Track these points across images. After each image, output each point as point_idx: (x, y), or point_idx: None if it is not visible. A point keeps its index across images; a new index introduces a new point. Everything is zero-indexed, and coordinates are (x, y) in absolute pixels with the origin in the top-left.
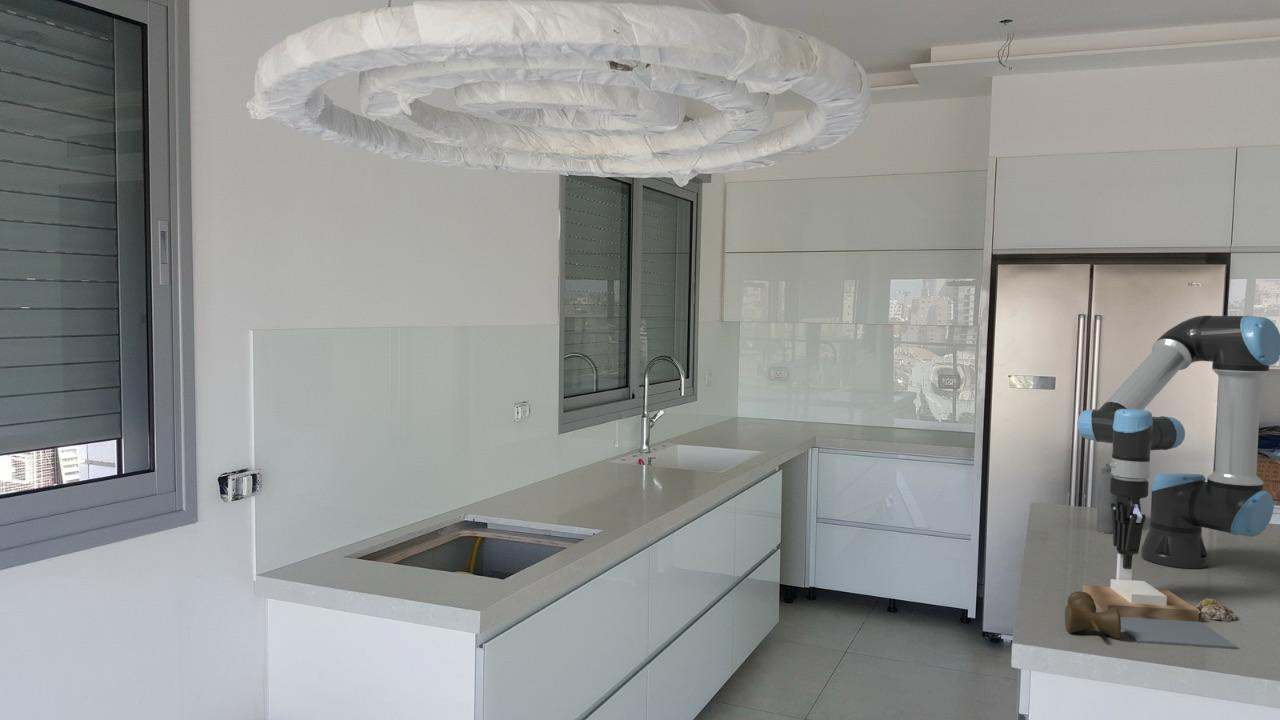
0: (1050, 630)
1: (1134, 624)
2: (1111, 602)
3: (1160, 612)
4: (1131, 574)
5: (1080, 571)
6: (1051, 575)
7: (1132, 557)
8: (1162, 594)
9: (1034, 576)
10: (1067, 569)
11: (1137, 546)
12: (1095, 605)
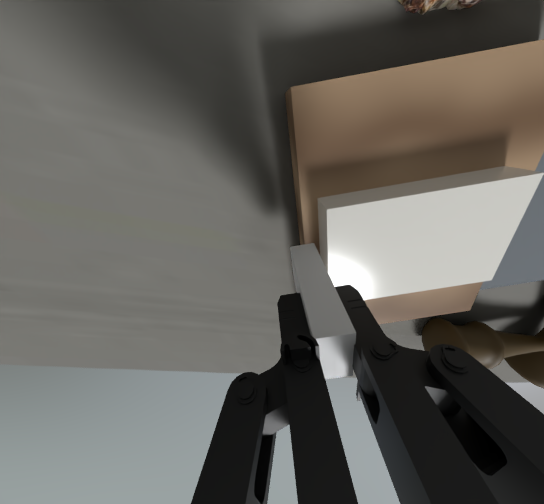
0: (502, 361)
1: (524, 257)
2: (454, 301)
3: None
4: (321, 261)
5: (59, 294)
6: (161, 346)
7: (348, 318)
8: (516, 183)
9: (192, 367)
10: (66, 317)
11: (525, 414)
12: (500, 338)
